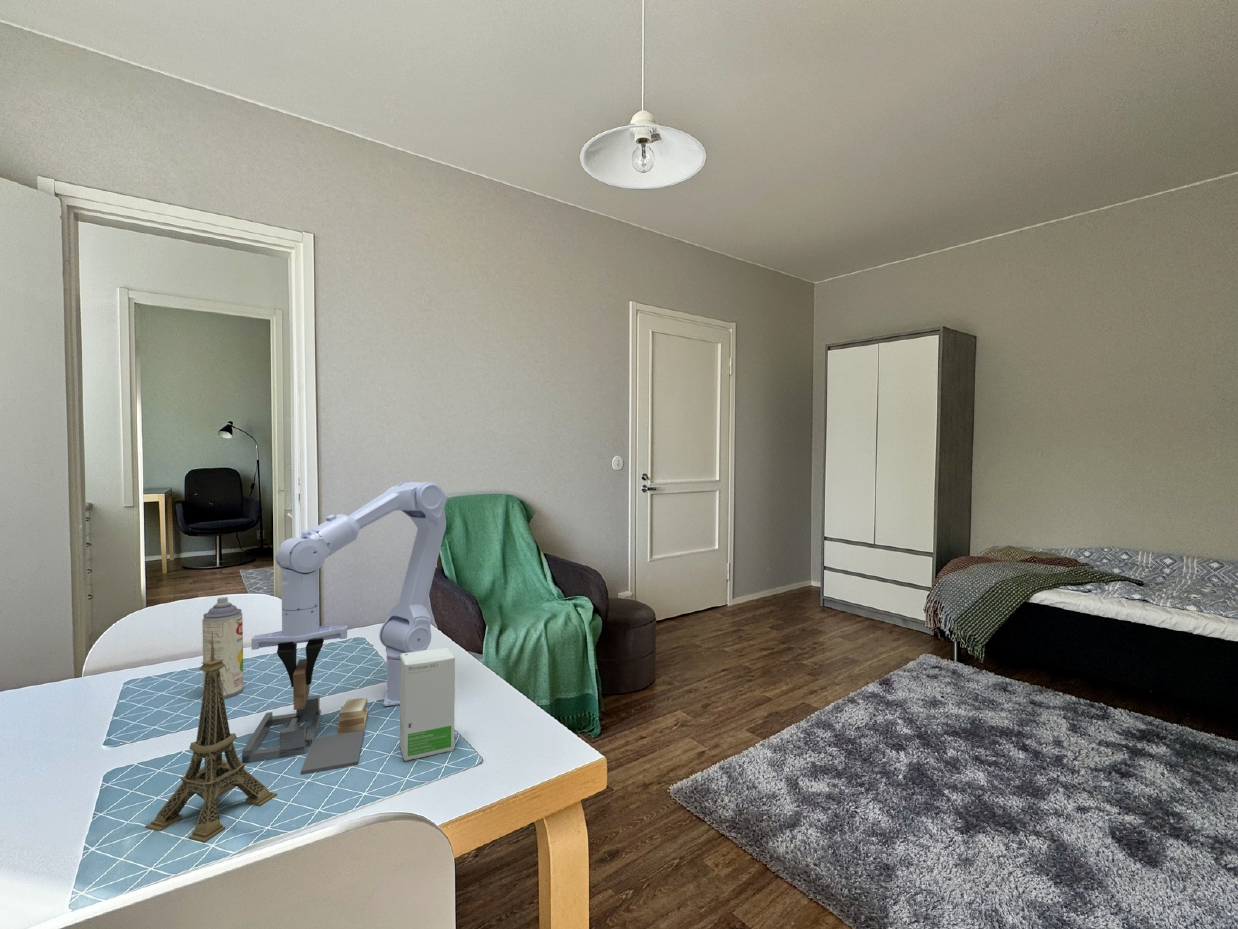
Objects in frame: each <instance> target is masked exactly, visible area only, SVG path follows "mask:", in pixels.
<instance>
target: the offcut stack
mask: <svg viewBox="0 0 1238 929" xmlns="http://www.w3.org/2000/svg"><path fill="white" fill-rule="evenodd" d="M367 705H368V697H359V698H349V699H346V700H345V702H344V704H343V706H340V711H339V713H338V714H339V719H338V720H339V721H338V725H337V727H336V728H337V729H336V735H337V734H343V733H350V732H357V731H363V730H365V729H366V726H367V721H368V716H369V707H367Z"/></svg>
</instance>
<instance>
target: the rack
mask: <svg viewBox="0 0 1238 929" xmlns="http://www.w3.org/2000/svg"><path fill="white" fill-rule="evenodd" d="M320 697H321V696H320V694H316V695H310V696H309V695H308V698H307V702H306V705H305V709H299V710H295V711H296V712H295V713H294V712H293V713H286V714H285V713H284V714H279V715H273V711H269V712H265V714H264V716H263V717H262V719H261V720H260V722H259V724H258V725H257V727H256V728H255V730H254V732H253V733H252V734H251V736H250V738H249V740H248V741H247V743H246V744H245V746H244V748H243V749H242V751H241V763H246V764H250V763H256V762H262V761H269V760H273V759H274V760H276V759H280V758H286V757H292V756H301V755H307V753H308V750H309V749H308V748H310V747H311V744H312V742H313V739H314V738H315V737H316V735H317V734H316V733H317V731H318V728H319V726H320V724H321V719H322V718H321V716H322V709H321V706H320V705H321V703H320V701H321V700H320ZM304 722H311V723H310V725H309V727H308V729H307V725H299V723H304ZM284 725H285V726H286V725H288V726H287V727H286V728H280V731H279V734H278V740H279V742H278V746H273V747H272V746H270V747H266V748H259V747H260V745H261V744H262V741H263V740H264V738H265V736H266V734H267V733H268V731H269V730H270V729H271V727H276V726H284ZM258 748H259V749H258Z"/></svg>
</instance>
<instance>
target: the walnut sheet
mask: <svg viewBox="0 0 1238 929" xmlns="http://www.w3.org/2000/svg"><path fill="white" fill-rule="evenodd" d="M296 665H297V666H296V669H295V671H294V674H293V687H292V688H293V699H292V700H293V711H296V710H299V709H305V705H306V702H307V698H308V696H309V694H310V685H306V671H307V661H306V658H301V659H299V660H298V661H297V663H296Z"/></svg>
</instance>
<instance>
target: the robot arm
mask: <svg viewBox="0 0 1238 929" xmlns="http://www.w3.org/2000/svg"><path fill="white" fill-rule="evenodd" d="M447 499H448V496H447V494H446V493H445V492H444V490H443V488H442V486H441V485H439V484H438V483H436V482H434V481H426V482H421V481H409V480H404V481H401V482H399V483H398V484H397V485H394V486H390V487H389V488H388V489H387V490H386V491H385V492H383V493H382V494H380V495H379V496H377V497H375V498H374V499H372V500H370V501H369V502H368V503H365V504H364V505H363V506H361V507H359V508H358V509H357V510H355V511H354V512H351V513H350V514H349V515H347V514H343V513H339V514H330V515H327V516H326V517H325V521H324V522H322V523H321V524H319V525H316V526H315V527H313V528H311V529H305V530H303V531H301V536H300V537H291V538H288V539H286V540H284V541H283V542H282V543H281V544H280V546H279V547H278V549H277V552H276V554H274V555H273V556H274V561H275V563H276V565H277V566H278V567H279V568H280V569H281V630H278V631H272V632H268V633H263V634H262V633H261V634H256V635H255V634H254V635H253V636H252V637H251V643H250V644H251V650H252V651H253V650H254V651H255V650H260V648H262V649H263V648H271V647H277V651H276V654H277V656H278V657H279V659H280V660H281V662H282V664H283V665H284V668H285V669H286V672H287V674H288V677H289V682H290V686H291V688H293V674H294V671H295V669H296V666H297V654H298V653H297V650H298V649H297V647H298V644H303V643H306V646H305V655H306V656H305V659H306V661H307V671H306V685H309V686H310V685H312V681H313V673H314V668H315V664H316V662H317V659H318V657H319V654H320V652H321V650H322V648H323V645H324V641H328V640H336V639H339V640H345V639H347V638H348V624H346V625H320V579H319V578H320V576H319V575H320V574H319V573H320V572H319V569H320V568H322V566H323V564H324V563H325V560H326V559H327V558H328V557H330V556H332V555H333V554H335V553H337V552H338V551H340V550H341V549H343V548H345V547H346V546H348V545H349V544H351V543H353V542H355V541H356V540H357V538H358V536H359V532H360V530H362V529H364V528H365V527H367V526H370V525H371V524H373V523H375V522H377V521H378V520H381V519H382V518H385V517H386V516H388V515H389V514H392V513H393V512H395V511H401V512H402V513H404V514H405V515H406V516H407V517H409V518H410V519H411V521H412V522H413V524H414V525H415V526H416V529H417V530H416V535H415V539H414V542H413V546H412V549H411V554H410V557H409V561H408V566H407V569H406V573H405V577H404V580H403V581H404V582H403V584H402V588H401V592H400V596H399V600H398V603H397V604H395V606H393V607H392V608H391V609H390V610H389V612H388V616H387V618H386V620H385V621H384V623H383V624H382V625H381V627H380V629H379V637H378V638H379V640H380V643H381V645H383V646H384V647H385V653H386V690H385V694H384V700H383V706H384V707H389V706H390V707H391V706H397V705H400V670H401V662H400V654H402V653H410V652H418V651H423V650H428V648H429V646H430V644H431V641H432V632H431V624H432V620H433V619H432V617H431V614H430V613H429V611H428V609H427V605H428V601H429V597H430V592H431V587H432V584H433V580H434V575H435V572H436V568H437V563H438V560H439V556H440V551H441V547H442V543H443V539H444V537H445V536H444V535H445V531H446V528H447V519H446V509H445V506H446V503H447Z"/></svg>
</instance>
